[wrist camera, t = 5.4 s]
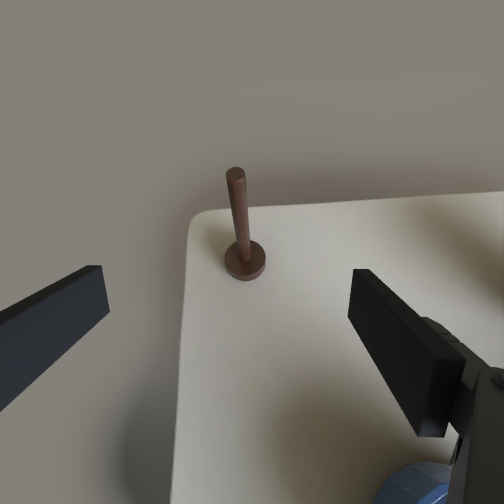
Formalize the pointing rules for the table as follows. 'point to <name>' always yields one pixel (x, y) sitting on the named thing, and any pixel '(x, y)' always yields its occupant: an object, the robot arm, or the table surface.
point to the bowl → (417, 485)
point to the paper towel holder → (242, 232)
